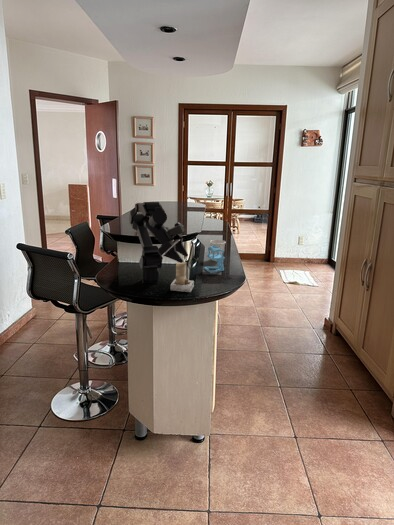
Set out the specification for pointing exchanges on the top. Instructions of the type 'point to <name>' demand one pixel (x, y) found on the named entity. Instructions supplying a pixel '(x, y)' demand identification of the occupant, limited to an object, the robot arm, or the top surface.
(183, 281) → the keyed post
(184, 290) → the socket plate
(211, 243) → the dixie cup
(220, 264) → the chair
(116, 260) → the top surface
